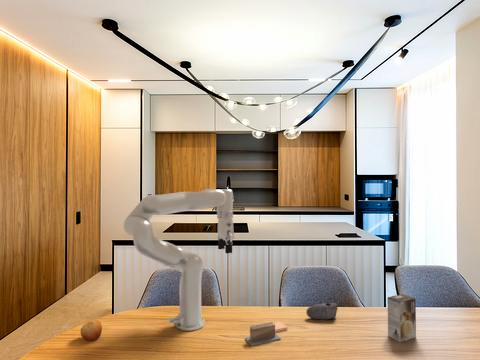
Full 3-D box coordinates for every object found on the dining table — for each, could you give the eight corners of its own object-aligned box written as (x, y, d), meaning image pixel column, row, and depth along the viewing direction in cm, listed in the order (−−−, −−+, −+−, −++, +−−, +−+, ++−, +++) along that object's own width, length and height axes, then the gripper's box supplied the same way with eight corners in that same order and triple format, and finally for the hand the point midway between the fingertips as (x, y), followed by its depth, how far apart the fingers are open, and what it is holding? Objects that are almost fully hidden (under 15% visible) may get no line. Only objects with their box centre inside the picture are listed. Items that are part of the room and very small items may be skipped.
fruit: (109, 330, 137) (102, 317, 133) (97, 347, 131) (90, 335, 127) (94, 327, 140) (87, 315, 136) (82, 344, 133) (73, 332, 129)
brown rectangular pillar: (275, 336, 133) (275, 324, 133) (252, 341, 129) (252, 329, 129) (272, 334, 135) (272, 322, 135) (250, 339, 131) (250, 326, 131)
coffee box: (402, 331, 139) (402, 293, 139) (416, 337, 133) (416, 298, 133) (387, 335, 135) (387, 296, 135) (400, 342, 129) (400, 302, 129)
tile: (266, 328, 143) (273, 334, 137) (266, 324, 143) (273, 330, 137) (280, 325, 146) (287, 331, 140) (280, 321, 146) (287, 327, 140)
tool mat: (251, 346, 126) (251, 344, 126) (245, 339, 132) (245, 337, 132) (280, 339, 132) (280, 338, 132) (273, 333, 137) (273, 331, 137)
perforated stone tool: (307, 321, 149) (307, 305, 149) (305, 316, 154) (305, 301, 154) (340, 321, 149) (340, 305, 149) (336, 316, 154) (336, 301, 154)
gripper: (239, 216, 150) (239, 254, 150) (225, 213, 166) (225, 246, 166) (224, 217, 147) (224, 255, 147) (211, 213, 162) (211, 248, 163)
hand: (225, 250), depth 156 cm, fingers open, 9 cm apart
